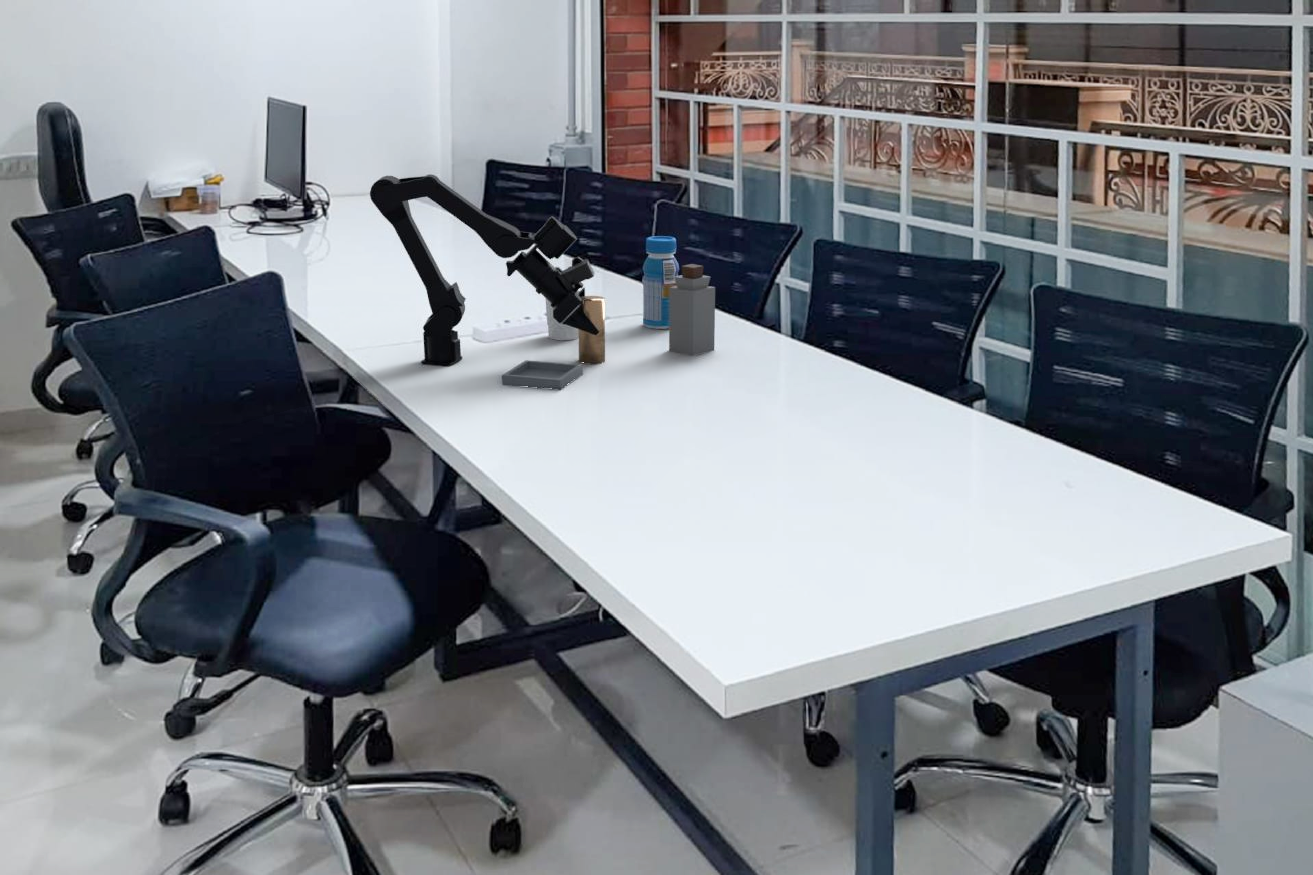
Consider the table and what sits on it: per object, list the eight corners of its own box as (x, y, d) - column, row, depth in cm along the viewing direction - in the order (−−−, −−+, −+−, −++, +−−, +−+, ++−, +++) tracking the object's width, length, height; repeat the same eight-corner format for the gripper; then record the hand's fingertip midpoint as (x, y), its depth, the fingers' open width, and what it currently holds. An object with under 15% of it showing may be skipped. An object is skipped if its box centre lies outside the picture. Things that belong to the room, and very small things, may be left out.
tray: (502, 385, 265) (501, 375, 265) (526, 370, 276) (525, 360, 276) (560, 390, 262) (560, 380, 261) (582, 374, 273) (582, 364, 272)
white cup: (563, 331, 309) (562, 287, 306) (589, 336, 304) (588, 291, 301) (538, 337, 303) (537, 292, 300) (565, 343, 298) (564, 297, 295)
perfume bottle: (714, 350, 292) (715, 265, 287) (692, 355, 288) (693, 270, 282) (690, 344, 297) (691, 261, 291) (669, 350, 292) (669, 266, 287)
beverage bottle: (639, 329, 311) (639, 240, 305) (645, 321, 319) (645, 234, 313) (676, 330, 310) (676, 241, 304) (682, 322, 318) (682, 235, 311)
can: (575, 363, 282) (573, 300, 278) (584, 356, 287) (583, 295, 283) (599, 365, 280) (599, 302, 276) (608, 358, 285) (608, 296, 281)
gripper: (568, 255, 267) (626, 310, 271) (571, 239, 285) (625, 291, 289) (529, 295, 270) (586, 349, 273) (534, 277, 287) (588, 328, 291)
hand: (597, 328), depth 281 cm, fingers open, 9 cm apart
